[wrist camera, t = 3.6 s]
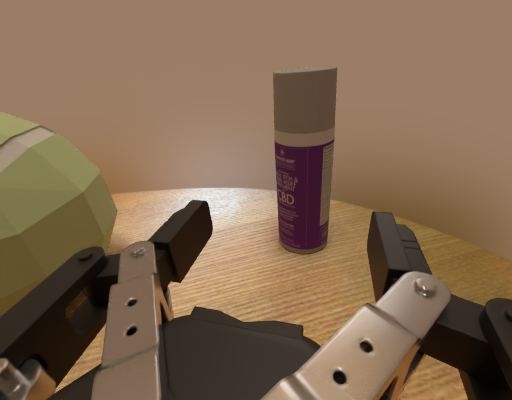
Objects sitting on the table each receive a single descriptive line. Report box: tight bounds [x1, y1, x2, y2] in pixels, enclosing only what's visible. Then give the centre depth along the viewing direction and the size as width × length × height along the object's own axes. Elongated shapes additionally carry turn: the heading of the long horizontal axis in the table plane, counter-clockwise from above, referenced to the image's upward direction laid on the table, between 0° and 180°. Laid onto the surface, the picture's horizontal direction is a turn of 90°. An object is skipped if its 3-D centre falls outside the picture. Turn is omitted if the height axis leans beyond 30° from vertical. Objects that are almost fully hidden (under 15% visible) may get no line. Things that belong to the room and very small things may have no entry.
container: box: [273, 66, 337, 254], centre depth 22 cm, size 5×5×15 cm
